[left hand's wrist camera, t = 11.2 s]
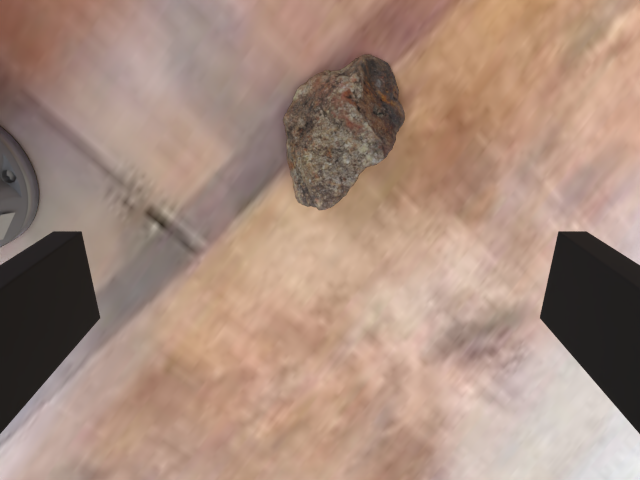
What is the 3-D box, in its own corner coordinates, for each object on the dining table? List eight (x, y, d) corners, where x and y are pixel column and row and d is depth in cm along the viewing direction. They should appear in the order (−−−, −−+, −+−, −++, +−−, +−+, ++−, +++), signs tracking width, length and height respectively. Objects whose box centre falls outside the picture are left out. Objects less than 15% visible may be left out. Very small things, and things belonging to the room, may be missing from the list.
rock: (419, 123, 45) (368, 35, 42) (448, 132, 37) (387, 24, 34) (304, 202, 47) (247, 124, 44) (307, 227, 39) (238, 133, 36)
